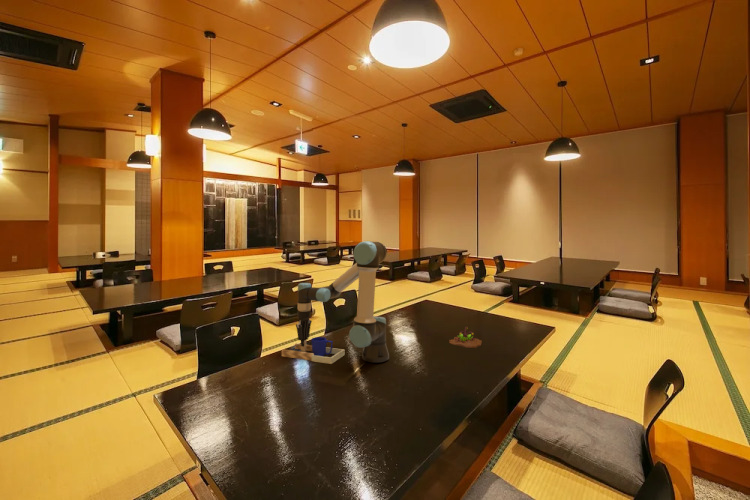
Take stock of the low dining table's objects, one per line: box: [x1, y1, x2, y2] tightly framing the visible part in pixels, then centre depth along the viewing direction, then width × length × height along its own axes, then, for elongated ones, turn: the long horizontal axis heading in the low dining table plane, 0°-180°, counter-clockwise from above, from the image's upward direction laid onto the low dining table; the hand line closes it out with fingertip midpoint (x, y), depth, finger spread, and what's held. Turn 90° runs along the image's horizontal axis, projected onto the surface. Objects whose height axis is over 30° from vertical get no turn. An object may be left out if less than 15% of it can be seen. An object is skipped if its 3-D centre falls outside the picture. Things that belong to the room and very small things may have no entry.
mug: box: [310, 336, 333, 357], centre depth 180 cm, size 8×12×10 cm
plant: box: [448, 326, 483, 349], centre depth 206 cm, size 20×20×11 cm
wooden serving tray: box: [281, 343, 314, 361], centre depth 184 cm, size 20×14×4 cm
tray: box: [311, 346, 346, 365], centre depth 179 cm, size 12×16×3 cm
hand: (303, 351), depth 185 cm, fingers closed
